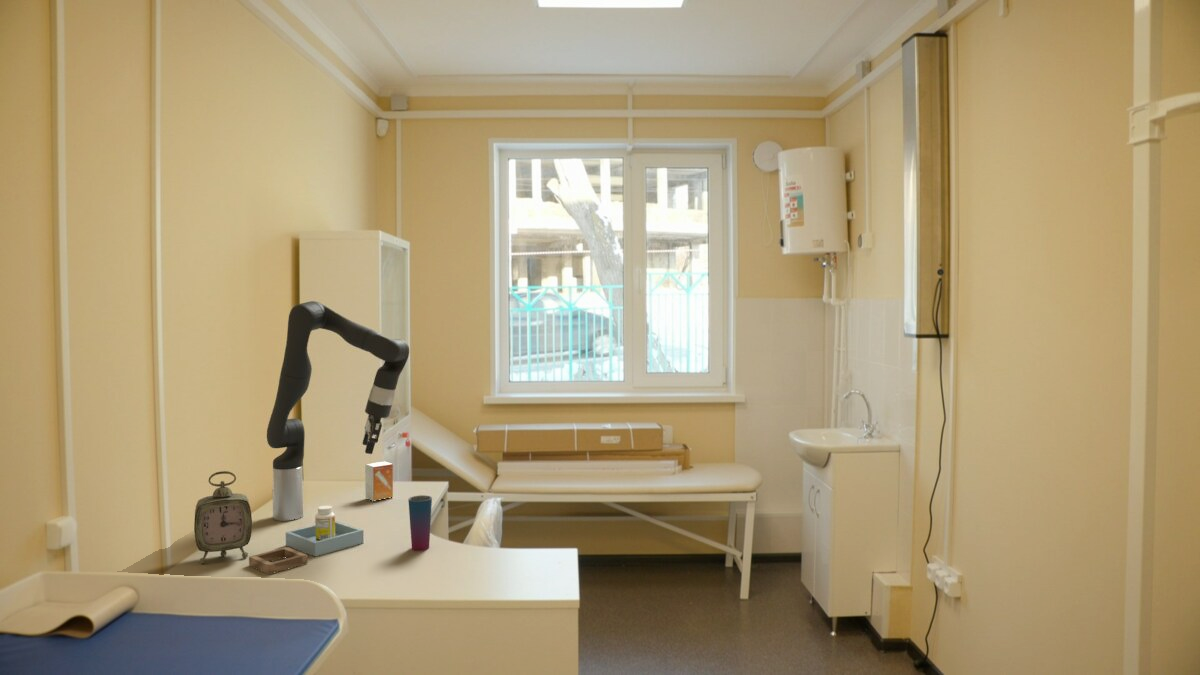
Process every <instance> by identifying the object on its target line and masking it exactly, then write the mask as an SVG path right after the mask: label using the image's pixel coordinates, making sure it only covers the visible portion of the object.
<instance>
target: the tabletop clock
mask: <svg viewBox="0 0 1200 675" xmlns="http://www.w3.org/2000/svg"><path fill="white" fill-rule="evenodd" d="M226 474H228V475H231V476H233V480H232V481H231V482H226V483H225V481H224V480H221V481H220V482H219V483H213V482H211V479H212V478H213V477H214V476H217V475H226ZM236 480H237V477H236V475H235V473H233V472H231V471H228V470H223V471H217V472H214V473H213V474H211V475H210V476H209V478H208V483H209V485H211V486H212V487H217V488H215V490H214V491H213V493H212V495H209V496H205V497H202V498H200V499H198V501H197V503H196V505H195V509H194V523H193V527H194V531H193V532H194V538H195V543H196V547H197V549H198V551H200V552H204V554H203V556H202V558H200V559H199V564H200V565H201V564H202V563H203V564H206V562H207V559H206V557H207V555H208V553H213V552H214V553H216V552H220V556H221V557H225V556H226V555H227V554H228V552H227V551H230V550H235V549H239V550H240V551H241V552H242V553H241V557H242V558H244V559H246V558H247V557H249V553H248V552H247V551H245V549H244V547H246V546H248V545H249V542H250V540H251V537H252V528H253V527H252V526H253V517H252V511H251V506H250V505H251V504H250V502H249V499H248V496H247V495H246V494H243V493H233V492H232V489H231V488H230V487H227V486H230V485H232V484H234V483H235V482H236Z"/></svg>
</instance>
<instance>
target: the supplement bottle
mask: <svg viewBox="0 0 1200 675" xmlns="http://www.w3.org/2000/svg"><path fill="white" fill-rule="evenodd" d="M314 518H315V525H316V541H320V540H324V539H328V538H331V537H335V521H336V515H335V513H334V512H333V507H332V505H320V506H318V507H317V513H316V514H315V517H314Z"/></svg>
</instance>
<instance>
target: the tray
mask: <svg viewBox="0 0 1200 675" xmlns="http://www.w3.org/2000/svg"><path fill="white" fill-rule="evenodd" d="M361 543H362V544H364V529H361V528H358V527H355V526H353V525H352V526H351V525H349V524H345V523H343V522H340V521H336V520H335V537H331V538H328V539H324V540H320V541H316V524H314V525H310V526H309V525H308V526H305V527H301V528H297V529H293V530H290V531H285V546H286V545H287V546H286V547H289V546H290V547H289V548H291V547H293V548H292V549H294V548H295V549H294V550H296V549H298V550H297V551H299V550H300V551H299V552H301V551H303V552H302V553H304V552H306V553H305V554H307V553H308V554H307V555H309V554H310V556H312V555H313V556H312V557H314V556H316V557H320V556H323V555H326V554H330V553H333V552H337V551H340V550H344V549H348V548H351V547H355V546H358V544H359V545H361ZM319 555H320V556H319Z"/></svg>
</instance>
